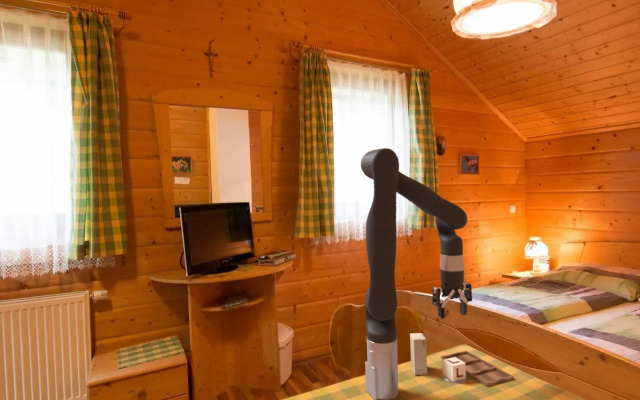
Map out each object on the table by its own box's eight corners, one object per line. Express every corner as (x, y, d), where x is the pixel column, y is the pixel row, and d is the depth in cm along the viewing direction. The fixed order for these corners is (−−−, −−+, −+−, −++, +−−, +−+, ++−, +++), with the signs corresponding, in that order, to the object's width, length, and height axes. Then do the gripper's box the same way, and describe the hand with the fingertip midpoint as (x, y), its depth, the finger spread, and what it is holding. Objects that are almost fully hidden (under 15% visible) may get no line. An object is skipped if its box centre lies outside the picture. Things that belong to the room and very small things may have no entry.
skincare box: (427, 375, 132) (426, 339, 132) (414, 375, 132) (413, 340, 132) (423, 366, 139) (422, 332, 138) (410, 366, 139) (409, 332, 138)
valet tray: (486, 387, 123) (486, 383, 123) (441, 359, 144) (441, 356, 144) (513, 380, 127) (513, 376, 127) (465, 353, 148) (465, 350, 148)
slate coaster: (452, 386, 125) (452, 384, 125) (436, 375, 132) (436, 373, 132) (472, 381, 128) (472, 379, 127) (455, 370, 135) (455, 368, 135)
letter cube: (453, 381, 126) (453, 366, 126) (443, 374, 131) (442, 359, 131) (466, 378, 128) (465, 363, 128) (455, 371, 133) (455, 356, 133)
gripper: (441, 272, 124) (442, 323, 124) (477, 267, 129) (478, 316, 129) (426, 267, 131) (427, 316, 131) (461, 263, 136) (462, 310, 136)
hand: (452, 316), depth 130 cm, fingers open, 8 cm apart
